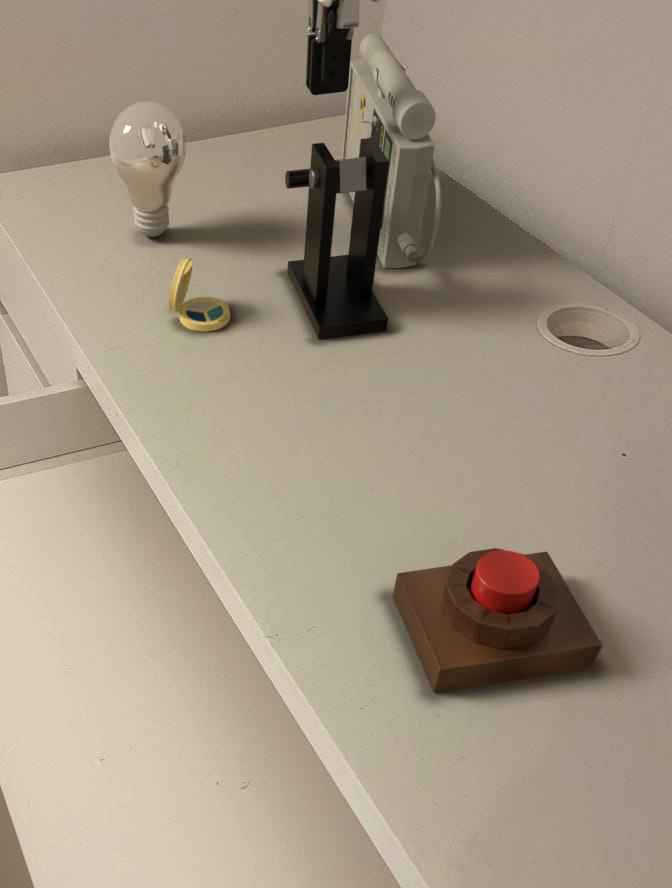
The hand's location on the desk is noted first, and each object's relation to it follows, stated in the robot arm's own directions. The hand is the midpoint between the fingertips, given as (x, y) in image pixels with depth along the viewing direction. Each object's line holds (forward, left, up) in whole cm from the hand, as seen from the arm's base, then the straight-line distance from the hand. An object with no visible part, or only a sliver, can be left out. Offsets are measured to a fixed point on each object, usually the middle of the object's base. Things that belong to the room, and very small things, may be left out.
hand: (326, 89), depth 81 cm
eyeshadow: (+12, +9, -14) cm, 21 cm away
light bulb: (+14, -6, -14) cm, 21 cm away
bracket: (0, +9, -14) cm, 17 cm away
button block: (+1, +48, -14) cm, 50 cm away
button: (+1, +48, -11) cm, 49 cm away
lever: (0, +5, -6) cm, 8 cm away
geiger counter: (-8, -3, -14) cm, 17 cm away
